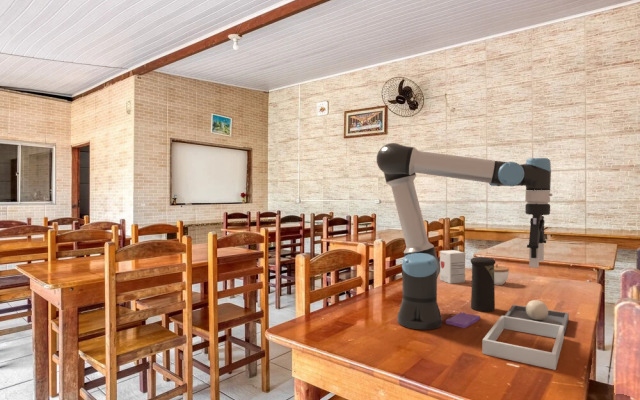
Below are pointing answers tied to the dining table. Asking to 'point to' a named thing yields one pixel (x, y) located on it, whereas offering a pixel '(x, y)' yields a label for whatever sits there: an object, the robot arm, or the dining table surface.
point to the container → (483, 284)
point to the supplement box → (452, 266)
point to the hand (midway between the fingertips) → (536, 264)
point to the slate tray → (551, 318)
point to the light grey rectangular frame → (519, 352)
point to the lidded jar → (500, 274)
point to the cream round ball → (536, 310)
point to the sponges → (462, 320)
